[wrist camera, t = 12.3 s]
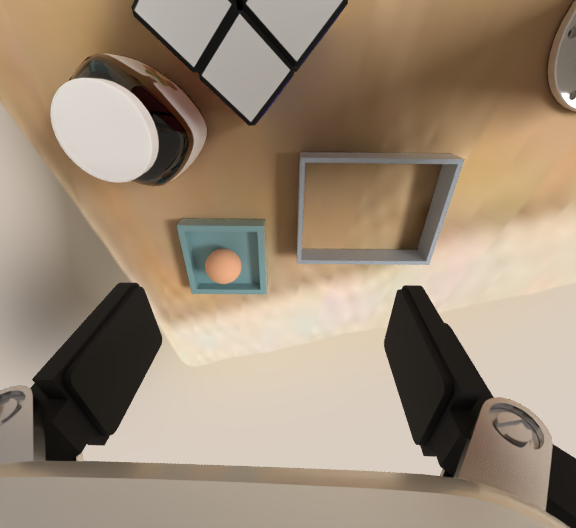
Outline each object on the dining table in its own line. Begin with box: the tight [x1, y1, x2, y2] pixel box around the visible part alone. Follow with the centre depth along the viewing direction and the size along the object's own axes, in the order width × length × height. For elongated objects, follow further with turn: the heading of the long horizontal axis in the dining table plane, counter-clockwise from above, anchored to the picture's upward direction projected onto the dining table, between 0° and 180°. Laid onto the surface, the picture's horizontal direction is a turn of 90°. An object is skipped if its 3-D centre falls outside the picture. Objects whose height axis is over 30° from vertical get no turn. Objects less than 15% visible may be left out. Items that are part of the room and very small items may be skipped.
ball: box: [205, 248, 242, 284], centre depth 36 cm, size 5×5×5 cm
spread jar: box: [50, 53, 207, 186], centre depth 25 cm, size 12×11×12 cm
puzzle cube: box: [132, 0, 348, 126], centre depth 22 cm, size 10×10×10 cm
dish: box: [177, 218, 267, 294], centre depth 38 cm, size 11×11×2 cm
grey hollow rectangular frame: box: [297, 152, 464, 265], centre depth 34 cm, size 17×13×3 cm
